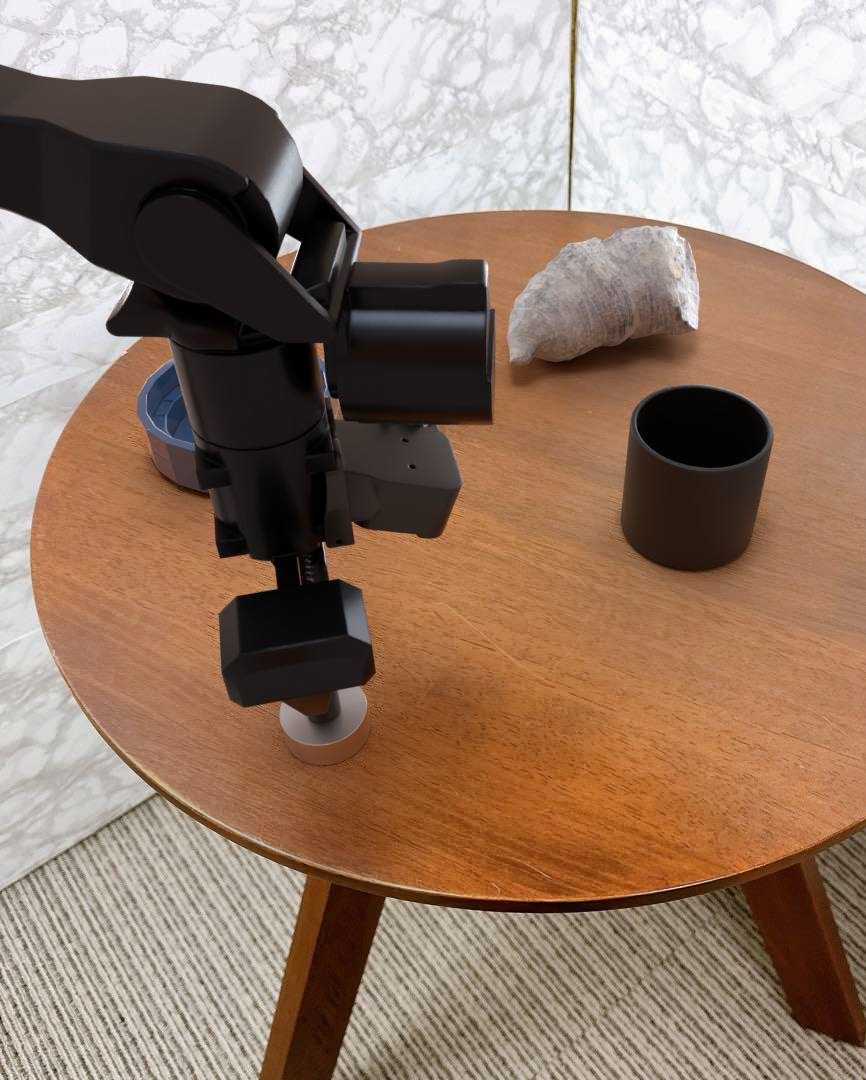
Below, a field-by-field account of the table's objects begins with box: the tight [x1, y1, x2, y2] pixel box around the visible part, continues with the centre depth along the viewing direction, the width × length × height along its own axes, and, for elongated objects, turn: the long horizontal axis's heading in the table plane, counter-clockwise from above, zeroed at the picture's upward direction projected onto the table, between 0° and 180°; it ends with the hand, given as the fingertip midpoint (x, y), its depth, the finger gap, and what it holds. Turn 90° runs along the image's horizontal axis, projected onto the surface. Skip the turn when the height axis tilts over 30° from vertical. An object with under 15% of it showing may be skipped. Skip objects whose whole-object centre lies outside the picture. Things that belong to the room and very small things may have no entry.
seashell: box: [506, 224, 701, 367], centre depth 86 cm, size 16×15×10 cm
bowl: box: [136, 354, 341, 493], centre depth 78 cm, size 14×14×4 cm
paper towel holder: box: [278, 686, 371, 766], centre depth 56 cm, size 5×5×11 cm
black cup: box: [620, 383, 775, 571], centre depth 71 cm, size 9×12×9 cm
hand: (307, 644), depth 55 cm, fingers open, 9 cm apart
